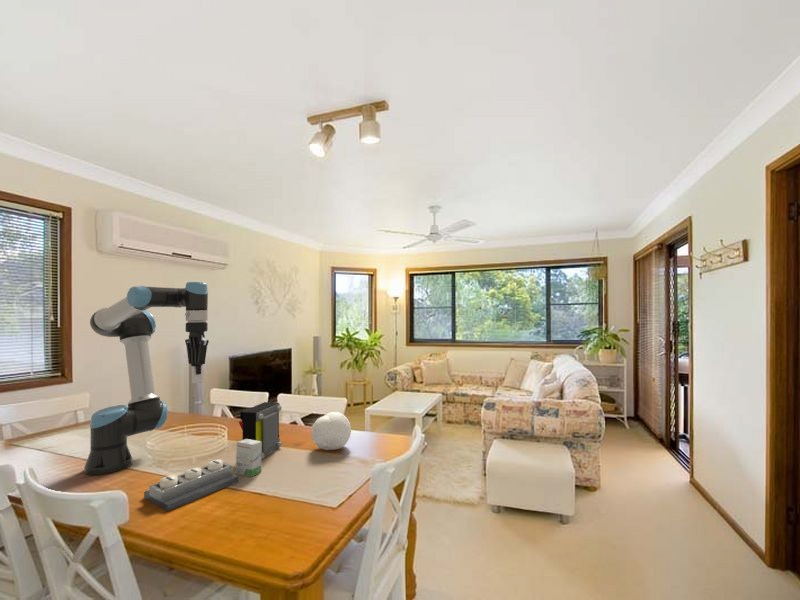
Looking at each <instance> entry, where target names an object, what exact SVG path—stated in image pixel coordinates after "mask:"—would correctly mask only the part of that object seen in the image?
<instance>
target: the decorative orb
mask: <svg viewBox="0 0 800 600" xmlns="http://www.w3.org/2000/svg"><path fill="white" fill-rule="evenodd" d="M351 426H352V425H351V423H350V420H349V419H348V417H346V416H345V414H343V413H341V412H339V411H332V412H328V413H326V414H325V415H323V416H321V417H319V418H317V419H316V420H315V422H314V423H313V426H312V431H311V440H312V441H313V443H314V445H315V446H317V448H318V449H323V450H324V451H330V450H331V451H334V450H335V451H336V450H338V449H341V448H343V447H344V446H345V445H346V444H347V443H348V441H349V440H350V438H351V434H352V427H351Z"/></svg>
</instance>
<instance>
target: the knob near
mask: <svg viewBox="0 0 800 600" xmlns="http://www.w3.org/2000/svg"><path fill="white" fill-rule="evenodd" d="M177 476H178V475H173V474H171V475H167V476H164V477H162V478H160V479H159V482H160V489H162V490H165V489H167V488H170V487H173V486H175V485H177V482H178V477H177Z"/></svg>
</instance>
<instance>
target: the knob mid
mask: <svg viewBox="0 0 800 600" xmlns="http://www.w3.org/2000/svg"><path fill="white" fill-rule="evenodd" d="M184 473H185V479H187V480H191V479H194V478H197V477H200V476H201V467H192V468H189V469H186V470H185V472H184Z"/></svg>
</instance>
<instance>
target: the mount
mask: <svg viewBox="0 0 800 600" xmlns="http://www.w3.org/2000/svg"><path fill="white" fill-rule="evenodd" d="M200 468H201V476H200V477H197V478H194V479H191V480H187V479H185V472H184V473H182V474H178V475H176V476H177V477H178V482H177V485H175V486H173V487H170V488H167V489H165V490H162V489H160V481H159V482H157V483H153V484H150V485H149V486H148V490H145V491H143V498H144V499H145V500H147V501H148V502H150V503H152V504H154V505H155V506H157V507H159V508H160V509H163V510H164V511H166V512H170V511H172V510H175V509H177V508H179V507H180V508H181V507H182V506H185V505H186V504H188V503H189V504H190V503H191V502H194V501H196V500H198V499H201V498H202V497H205V496H208V495H210V494H214V493H215V492H218V491H220V490H223V489H224V488H227V487H229V486H232V485H234V484H237V483H239V476H238V475H237V474H234V473H233V465H232V464H231V463H230V464H229V463H227V462H224V461H223V468H221V469H218V470H216V471H213V472H211V471H208V464H207V465H204V466H202V467H200Z"/></svg>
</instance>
